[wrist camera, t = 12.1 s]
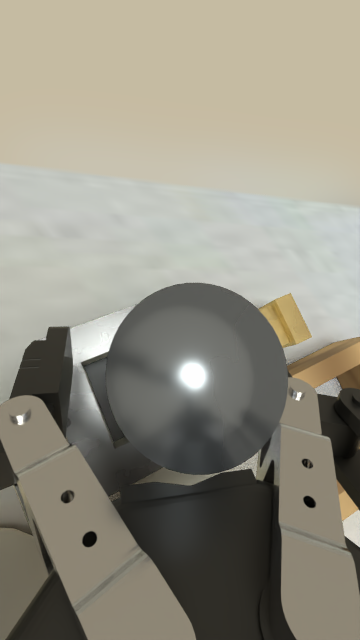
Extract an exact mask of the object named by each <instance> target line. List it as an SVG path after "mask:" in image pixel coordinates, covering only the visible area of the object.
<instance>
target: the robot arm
mask: <svg viewBox="0 0 360 640" xmlns="http://www.w3.org/2000/svg"><path fill="white" fill-rule="evenodd" d="M72 376H73V355H72V344H71V333H70V327H49V329H48V332H47V336H46V340H35V341H33V342H32V343H31V344H30V345H29V346H28V347H27V348H26V349H25V352H24V355H23V358H22V362H21V365H20V369H19V371H18V374H17V377H16V380H15V383H14V386H13V389H12V393H11V396H10V399H9V400H8V401H6V402H4V403H3V404H2V405H0V490H2V489H4V488H7V487H9V486H12V485H13V486H14V489H15V491H16V494H17V496H18V499H19V501H20V504H21V506H22V509H23V511H24V514H25V516H26V519H27V521H28V524H29V526H30V529H31V532H32V534H33V537H34V540H35V543H36V546H37V549H38V551H39V554H40V557H41V559H42V562H43V564H44V567H45V569H46V572H47V574H48V577H47V579H46V580H45V582H44V583H43V585H42V586H41V588H40V589H39V591H38V592H37V594H36V595H35V597H34V598H33V599H32V601H31V602H30V604H29V605H28V607H27V608H26V610H25V611H24V613H23V614H22V616H21V617H20V619H19V620H18V622H17V623H16V624H15V626H14V627H13V629H12V630H11V632H10V633H9V635H8V636H7V638H6V639H5V640H360V548H359V547H358V546H357V545H356V544H354V543H353V542H352V541H350V540H349V539H348V538H347V537H345V536H344V530H343V523H342V516H341V509H340V502H339V495H338V488H337V480H338V482H339V483H340V485H341V486H342V487H343V489H344V490H345V491H346V493H347V494H348V495H349V497H350V498H351V499H352V501H353V502H354V503H355V505H356V506H357V508H358V509H359V510H360V449H359V447H360V390H359V389H356V388H344V389H342V390H341V391H340V393H339V395H338V397H333V396H327V395H321V394H317V393H316V391H315V389H314V388H313V387H312V386H311V385H310V384H308V383H307V382H305V381H303V380H301V379H298V378H293V377H292V376H291V374H290V373H289V372H288V392H287V399H286V404H285V408H284V411H283V414H282V417H281V419H280V421H279V424H278V426H277V428H276V430H275V431H274V433H273V434H272V436H271V437H270V439H269V440H268V441H267V442H266V444H265V445H264V446H263V447H262V448H261V449H260V450H259V451H258V461H257V472H256V479H255V476H254V474H253V472H252V469H246V470H239V471H232V472H224V473H220V474H218V475H215V476H213V477H211V478H209V479H206V480H204V481H202V482H199V483H197V484H195V485H192V486H185V485H177V484H168V483H160V482H151V483H144V484H136V485H129V486H122V487H120V498H119V499H116V500H114V501H112V502H111V501H110V499H109V497H108V496H107V494H106V493H105V491H104V489H103V488H102V486H101V484H100V483H99V481H98V480H97V478H96V476H95V475H94V473H93V472H92V470H91V468H90V467H89V465H88V463H87V462H86V460H85V459H84V457H83V455H82V454H81V452H80V450H79V449H78V448H77V446H76V445H75V444H72V445H69V444H68V442H67V440H66V430H67V421H68V412H69V403H70V394H71V385H72ZM336 479H337V480H336Z"/></svg>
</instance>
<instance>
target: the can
mask: <svg viewBox="0 0 360 640" xmlns="http://www.w3.org/2000/svg"><path fill="white" fill-rule="evenodd" d="M47 577H48V574H47V572H46V569H45V567H44V564H43V562H42V559H41V557H40V554H39V551H38V549H37V546H36V543H35V540H34V537H33V536H32V535H29V534H27V533H24V532H22V531H19V530H17V529H14V528H0V640H5V639H6V638H7V636H8V635H9V633H10V632H11V630H12V629H13V627H14V626H15V624H16V623H17V622H18V620H19V619H20V617H21V616H22V614H23V613H24V611H25V610H26V608H27V607H28V605H29V604H30V602H31V601H32V599H33V598H34V597H35V595H36V594H37V592H38V591H39V589H40V588H41V586H42V585H43V583H44V582H45V580H46V579H47Z"/></svg>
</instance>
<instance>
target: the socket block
mask: <svg viewBox="0 0 360 640" xmlns="http://www.w3.org/2000/svg"><path fill="white" fill-rule="evenodd" d="M138 304H139V303H138ZM136 305H137V304H135V305H133V306H130V307H127V308H124V309H122V310H119V311H116V312H114V313H111V314H108V315H105V316H103V317H100V318H97V319H94V320H92V321H89V322H86V323H83V324H81V325H78V326H75V327H72V328H70V333H71V344H72V355H73V376H72V385H71V394H70V403H69V412H68V421H67V430H66V438H67V440H68V443H69V445H72V444H75V445H76V446H77V448H78V449H79V450H80V452H81V454H82V455H83V457H84V459H85V460H86V462H87V463H88V465H89V467H90V468H91V470H92V472H93V473H94V475H95V476H96V478H97V480H98V481H99V483H100V484H101V486H102V488H103V489H104V491H105V493H106V494H107V496H110V495H112V494H114V493H116V492H118V491H120V487H122V486H129V485H131V484H133V483H135V482H136V481H138V480H140V479H142V478H144V477H146V476H148V475H150V474H151V473H153V472H155V471H157V470H159V469H161V468H163V467H162V466H160V465H158V464H156V463H154V462H153V461H151V460H150V459H148V458H147V457H145V456H144V455H143V454H142V453H141V452H139V451H138V450H137V449H136V448H135V447H134V446H133V445H132V444H131V443H130V441H129V440H128V439H127V438H126V437H123V438H121V439H119V440H117V441H115V442H113V439H112V437H111V434H110V432H109V429H108V426H107V424H106V421H105V419H104V416H103V414H102V411H101V409H100V406H99V403H98V401H97V398H96V396H95V393H94V391H93V388H92V385H91V383H90V380H89V378H88V375H87V373H86V370H85V368H84V366H85V365H88V364H90V363H93V362H95V361H97V360H100V359H102V358H105V357H107V356H108V353H109V349H110V346H111V343H112V340H113V338H114V335H115V333H116V331H117V330H118V328H119V326H120V324H121V323H122V321H123V320H124V319H125V317H126V316H127V314H128V313H129V312H130V311H131V310H132V309H133V308H134V307H135V306H136ZM39 340H46V337H45V338H42V339H39ZM31 343H32V342H31Z"/></svg>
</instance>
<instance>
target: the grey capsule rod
mask: <svg viewBox="0 0 360 640" xmlns="http://www.w3.org/2000/svg"><path fill="white" fill-rule="evenodd" d="M106 389H107V395H108V401H109V404H110V407H111V410H112V413H113V415H114V417H115V420H116V422H117V424H118V426H119V427H120V429H121V431H122V432H123V434H124V435H125V437H126V438H127V439H128V440H129V441H130V443H131V444H132V445H133V446H134V447H135V448H136V449H137V450H138V451H139V452H141V453H142V454H143V455H144V456H145V457H147V458H148V459H150V460H151V461H153V462H154V463H156V464H158V465H160V466H162V467H165V468H167V469H169V470H173V471H176V472H180V473H185V474H193V475H206V474H213V473H219V472H222V471H225V470H229V469H232V468H234V467H236V466H238V465H240V464H242V463H243V462H245V461H246V460H248V459H249V458H251V457H252V456H254V455H255V454H256V453H257V452H258V451H259V450H260V449H261V448H262V447H263V446H264V445H265V444H266V442H267V441H268V440H269V439H270V437H271V436H272V434H273V433H274V431H275V430H276V428H277V426H278V424H279V421H280V419H281V417H282V414H283V411H284V408H285V404H286V399H287V392H288V370H287V364H286V358H285V355H284V351H283V348H282V345H281V343H280V340H279V338H278V336H277V334H276V332H275V331H274V329H273V327H272V326H271V324H270V323H269V321H268V320H267V319H266V317H265V316H264V315H263V314H262V313H261V312H260V311H259V310H258V309H257V308H256V307H255V306H254V305H253V304H252V303H251V302H249V301H248V300H246V299H245V298H243V297H242V296H240V295H238V294H237V293H235V292H233V291H231V290H228V289H225V288H223V287H220V286H216V285H212V284H205V283H184V284H177V285H173V286H170V287H166V288H164V289H161V290H159V291H157V292H155V293H153V294H151V295H150V296H148V297H146V298H145V299H144V300H142V301H141V302H140V303H139V304H137V305H136V306H135V307H134V308H133V309H132V310H131V311H130V312H129V313H128V314H127V316H126V317H125V319H124V320H123V321H122V323H121V324H120V326H119V328H118V330H117V331H116V333H115V335H114V338H113V340H112V343H111V346H110V349H109V353H108V357H107V364H106Z"/></svg>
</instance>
